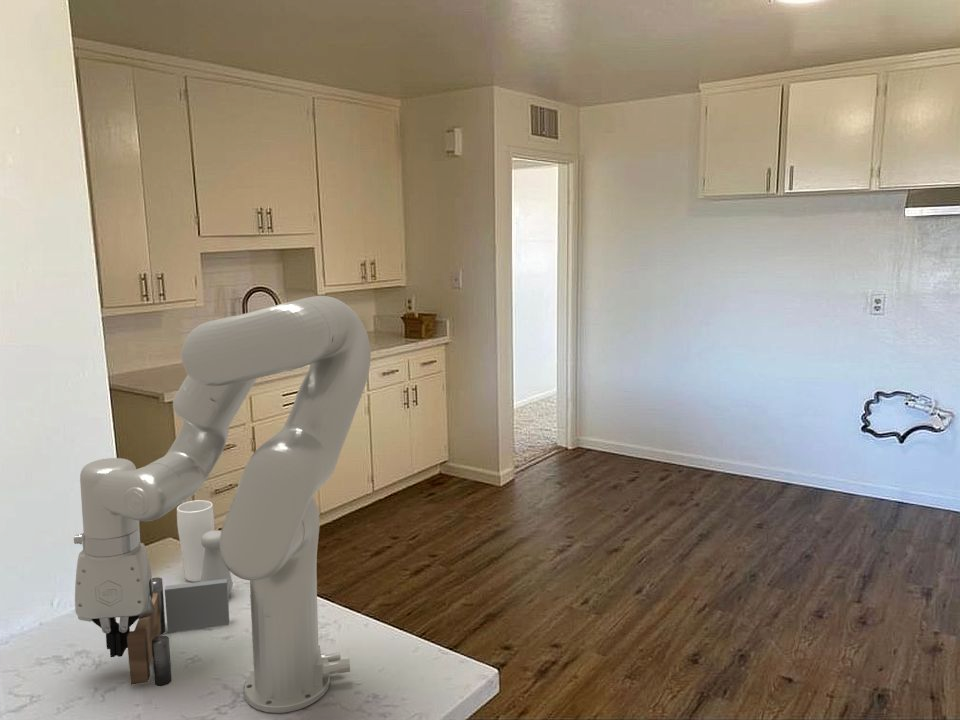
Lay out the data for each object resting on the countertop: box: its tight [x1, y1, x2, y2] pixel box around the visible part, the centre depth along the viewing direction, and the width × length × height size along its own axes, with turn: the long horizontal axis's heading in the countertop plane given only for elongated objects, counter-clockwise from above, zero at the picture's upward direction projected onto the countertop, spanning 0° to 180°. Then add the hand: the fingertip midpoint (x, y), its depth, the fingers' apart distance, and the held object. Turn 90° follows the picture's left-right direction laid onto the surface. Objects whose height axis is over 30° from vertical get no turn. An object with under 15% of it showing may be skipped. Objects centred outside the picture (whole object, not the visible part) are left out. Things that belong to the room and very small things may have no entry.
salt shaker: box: [200, 529, 234, 597], centre depth 136 cm, size 6×6×13 cm
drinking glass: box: [176, 499, 215, 583], centre depth 144 cm, size 7×7×15 cm
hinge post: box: [152, 577, 167, 636], centre depth 124 cm, size 2×2×10 cm
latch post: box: [152, 634, 173, 687], centre depth 110 cm, size 2×2×7 cm
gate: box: [127, 593, 161, 686], centre depth 116 cm, size 15×2×8 cm, turn 15°
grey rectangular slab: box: [164, 579, 230, 634], centre depth 126 cm, size 10×2×8 cm, turn 106°
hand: (119, 651), depth 113 cm, fingers closed
